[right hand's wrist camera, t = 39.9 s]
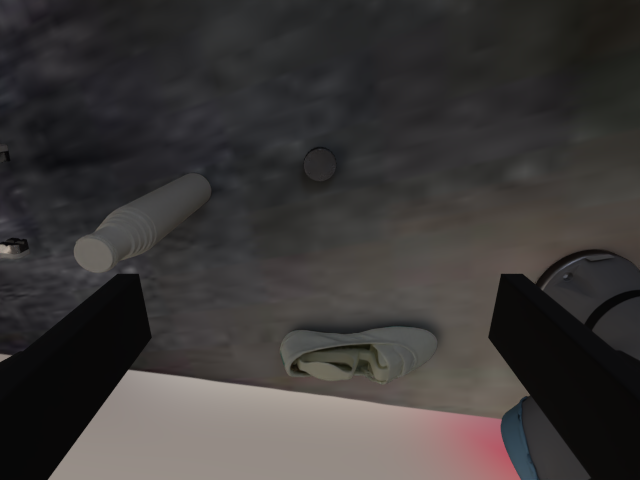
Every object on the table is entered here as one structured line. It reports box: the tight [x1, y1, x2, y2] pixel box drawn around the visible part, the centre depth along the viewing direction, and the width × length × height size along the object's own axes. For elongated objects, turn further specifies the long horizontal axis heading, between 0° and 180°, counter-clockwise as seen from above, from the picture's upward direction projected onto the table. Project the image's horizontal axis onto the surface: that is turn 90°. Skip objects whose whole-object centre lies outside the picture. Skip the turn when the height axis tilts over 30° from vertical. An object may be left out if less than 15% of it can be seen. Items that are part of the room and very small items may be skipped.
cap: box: [304, 147, 337, 181], centre depth 45 cm, size 4×4×2 cm
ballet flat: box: [280, 326, 438, 385], centre depth 52 cm, size 8×24×8 cm, turn 89°
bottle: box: [74, 173, 211, 273], centre depth 37 cm, size 4×4×23 cm
